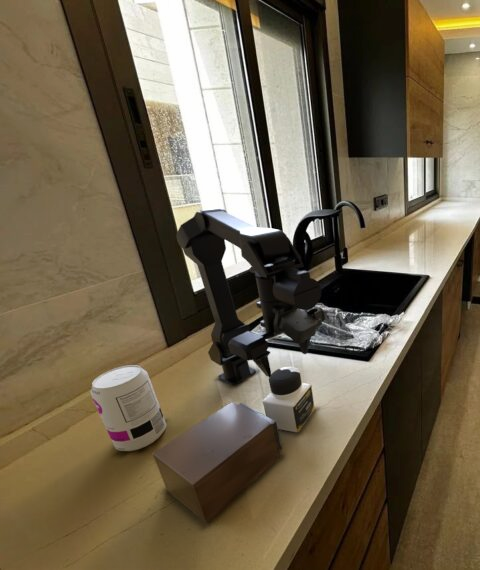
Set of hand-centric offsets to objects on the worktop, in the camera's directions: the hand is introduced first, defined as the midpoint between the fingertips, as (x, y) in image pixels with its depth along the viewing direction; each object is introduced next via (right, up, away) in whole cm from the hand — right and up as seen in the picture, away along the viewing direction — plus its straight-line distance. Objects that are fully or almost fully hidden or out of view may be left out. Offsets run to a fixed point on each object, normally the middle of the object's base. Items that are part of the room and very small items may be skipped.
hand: (287, 364), depth 69 cm
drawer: (-6, -16, -8) cm, 19 cm away
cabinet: (-7, -17, -10) cm, 21 cm away
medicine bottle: (0, -13, +3) cm, 13 cm away
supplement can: (-29, -15, -2) cm, 32 cm away
